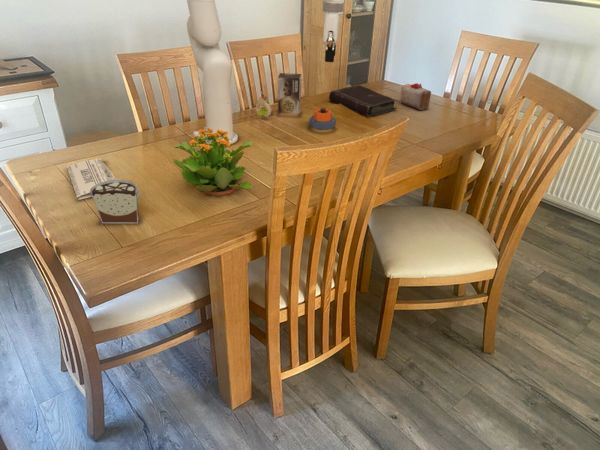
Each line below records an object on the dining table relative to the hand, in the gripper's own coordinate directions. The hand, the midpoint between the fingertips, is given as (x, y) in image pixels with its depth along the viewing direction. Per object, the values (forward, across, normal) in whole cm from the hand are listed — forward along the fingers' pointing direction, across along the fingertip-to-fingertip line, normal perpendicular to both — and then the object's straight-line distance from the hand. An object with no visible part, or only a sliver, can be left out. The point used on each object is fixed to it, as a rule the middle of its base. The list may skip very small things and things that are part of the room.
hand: (330, 58), depth 173 cm
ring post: (+26, +4, -2) cm, 26 cm away
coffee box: (+26, -11, -16) cm, 32 cm away
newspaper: (+26, +59, -67) cm, 93 cm away
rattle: (+26, -5, -25) cm, 36 cm away
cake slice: (+26, +78, -49) cm, 96 cm away
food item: (+26, -32, +37) cm, 56 cm away
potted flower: (+26, +59, -28) cm, 70 cm away
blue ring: (+24, +4, -2) cm, 25 cm away
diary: (+26, -28, +14) cm, 41 cm away
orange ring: (+22, +4, -1) cm, 22 cm away
